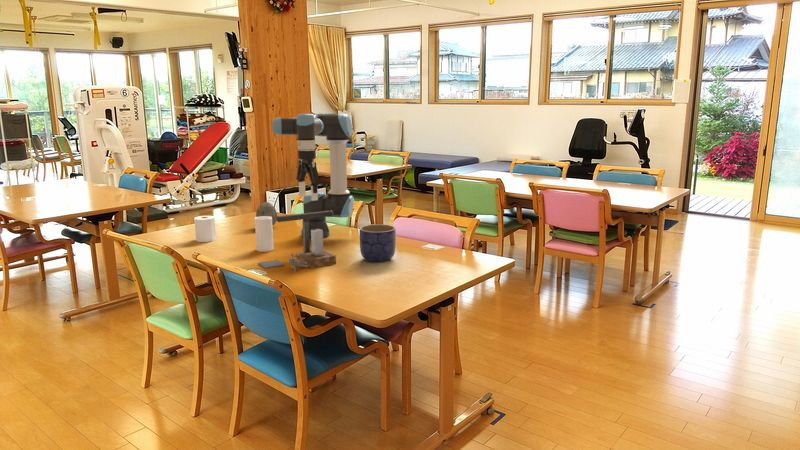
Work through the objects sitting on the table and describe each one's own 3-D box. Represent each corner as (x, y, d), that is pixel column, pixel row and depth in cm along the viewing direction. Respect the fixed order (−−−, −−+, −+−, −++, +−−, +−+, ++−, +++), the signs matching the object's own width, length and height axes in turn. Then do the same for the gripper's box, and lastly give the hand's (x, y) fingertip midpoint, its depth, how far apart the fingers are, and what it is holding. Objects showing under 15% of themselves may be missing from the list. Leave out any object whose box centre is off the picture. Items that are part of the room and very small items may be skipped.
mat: (277, 260, 258) (277, 259, 258) (284, 265, 251) (284, 264, 250) (258, 264, 253) (257, 262, 253) (265, 268, 246) (265, 267, 246)
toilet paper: (191, 241, 294) (189, 218, 291) (205, 236, 303) (203, 214, 301) (207, 243, 290) (205, 220, 288) (220, 238, 300) (218, 216, 297)
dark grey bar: (275, 223, 256) (275, 215, 255) (331, 217, 270) (331, 209, 269) (277, 224, 253) (277, 216, 253) (334, 218, 267) (334, 210, 266)
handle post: (311, 253, 271) (309, 218, 267) (318, 257, 264) (317, 221, 260) (295, 255, 266) (294, 220, 263) (302, 259, 260) (301, 223, 256)
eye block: (324, 257, 264) (323, 250, 263) (335, 263, 254) (335, 255, 253) (300, 261, 257) (299, 253, 256) (311, 267, 247) (310, 260, 247)
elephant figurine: (312, 270, 244) (294, 267, 238) (304, 278, 247) (286, 275, 241) (307, 252, 249) (290, 248, 244) (300, 260, 253) (283, 256, 247)
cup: (269, 252, 273) (267, 219, 269) (253, 251, 275) (251, 219, 271) (276, 247, 281) (274, 216, 277) (260, 247, 282) (259, 215, 279)
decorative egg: (275, 229, 319) (273, 203, 316) (254, 230, 319) (252, 203, 316) (279, 225, 330) (278, 200, 327) (259, 225, 331) (258, 200, 327)
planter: (368, 266, 249) (368, 233, 246) (354, 257, 263) (353, 226, 260) (402, 261, 256) (402, 229, 253) (386, 253, 271) (385, 222, 267)
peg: (320, 260, 258) (318, 228, 255) (323, 262, 255) (322, 230, 252) (312, 262, 256) (310, 229, 253) (315, 264, 253) (314, 231, 249)
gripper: (287, 148, 254) (289, 195, 258) (310, 152, 233) (311, 203, 238) (303, 147, 258) (305, 193, 262) (326, 151, 237) (328, 201, 242)
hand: (308, 198), depth 250 cm, fingers open, 13 cm apart
